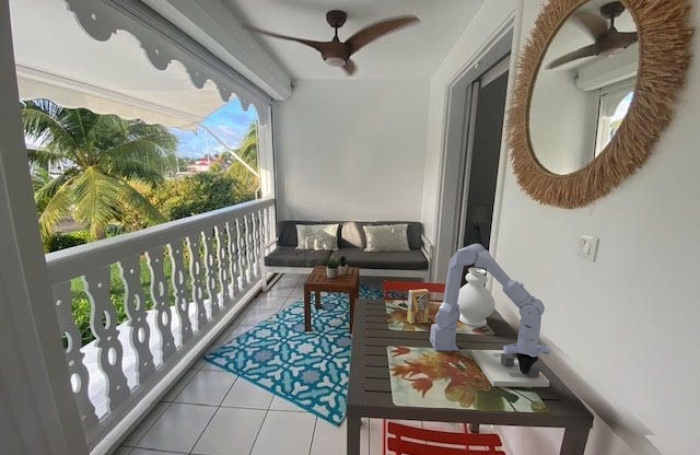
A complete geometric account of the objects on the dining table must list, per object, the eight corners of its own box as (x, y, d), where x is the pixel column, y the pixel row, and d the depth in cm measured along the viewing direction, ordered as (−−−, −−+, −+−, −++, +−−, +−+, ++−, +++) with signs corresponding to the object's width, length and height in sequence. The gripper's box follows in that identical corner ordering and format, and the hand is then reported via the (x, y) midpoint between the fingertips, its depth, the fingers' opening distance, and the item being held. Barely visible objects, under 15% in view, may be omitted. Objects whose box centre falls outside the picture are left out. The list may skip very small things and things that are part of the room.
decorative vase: (486, 312, 144) (491, 265, 140) (498, 331, 127) (504, 278, 122) (449, 309, 147) (453, 263, 142) (456, 327, 130) (461, 275, 125)
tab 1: (511, 356, 106) (512, 349, 105) (506, 351, 109) (507, 344, 108) (519, 356, 106) (520, 349, 105) (514, 351, 109) (515, 344, 108)
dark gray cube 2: (505, 366, 100) (505, 358, 100) (500, 360, 103) (501, 353, 103) (513, 366, 100) (514, 358, 100) (508, 360, 103) (509, 353, 103)
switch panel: (493, 386, 94) (493, 380, 93) (471, 354, 110) (471, 349, 110) (548, 386, 94) (549, 381, 93) (518, 354, 110) (519, 349, 110)
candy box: (423, 318, 138) (425, 288, 135) (428, 322, 134) (430, 291, 131) (406, 320, 136) (408, 289, 133) (410, 324, 132) (412, 293, 129)
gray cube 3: (529, 377, 95) (530, 369, 94) (524, 371, 98) (525, 363, 97) (538, 377, 95) (539, 369, 94) (533, 371, 98) (534, 363, 97)
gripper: (513, 342, 90) (508, 380, 92) (559, 342, 90) (553, 380, 92) (501, 330, 97) (497, 365, 99) (544, 330, 97) (538, 366, 99)
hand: (523, 372), depth 96 cm, fingers closed
